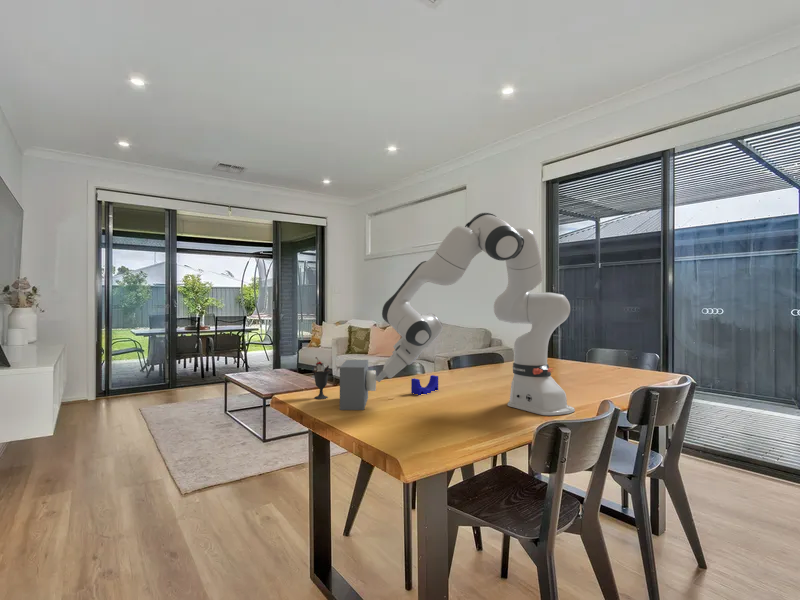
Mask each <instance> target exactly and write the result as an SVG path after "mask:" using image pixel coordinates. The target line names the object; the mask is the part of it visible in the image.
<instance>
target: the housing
mask: <svg viewBox="0 0 800 600" xmlns="http://www.w3.org/2000/svg"><path fill="white" fill-rule="evenodd" d="M367 370H369V359H346V360H345V361H344V362H343V363H342V364H341V365H340V366H339V411H364V410H365V408H366V405H367V402H368V399H369V391H367V390H366V374H367Z"/></svg>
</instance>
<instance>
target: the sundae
mask: <svg viewBox="0 0 800 600" xmlns="http://www.w3.org/2000/svg"><path fill="white" fill-rule="evenodd" d="M315 359H316V360H317V362H316V363H315V366H314V368H313V370H311V372H312V373H313V375H314V384H315V386H316V388H318V389H319V393H318V395H316V396H314V399H315V400H325V399H326V398H327V399H328V398H329V397H328V396H327V395H325V394H324V388H325V387H326V386H327V384H328V378H329V373H330V372H331V370H330V369H329V367H330V365H329V364H328V365H327V366H326V364H325V363H323V362H322V361H320V360H319V359H318V357H317V356H316V357H315ZM327 399H326V400H327Z"/></svg>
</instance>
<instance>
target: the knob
mask: <svg viewBox="0 0 800 600" xmlns="http://www.w3.org/2000/svg"><path fill="white" fill-rule="evenodd" d="M376 377H377V372H376V370H373V369H371V370H370V369H368V370H367V374H366V390H367V391H368V392H370V391H371V392H373V391H374V392H376V390H377V380H376Z"/></svg>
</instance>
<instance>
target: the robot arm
mask: <svg viewBox="0 0 800 600" xmlns="http://www.w3.org/2000/svg"><path fill="white" fill-rule="evenodd" d="M481 252H485V254H487V255H488V256H489V257H490V258H492V259H494V260H495V261H505V266H506V273H507V281H508V282H507V285H506V289H504V291H503V292H502V293H501V294H499V295H498V296H497V297H496V299H495V301H494V304H493V312H494V315H495V317H496V318H497V320H498V321H499V322H505V323H510V324H523V325H524V324H525V325H526V324H528V325H529V324H530V325H531V329H530V331H529V332H526V333H523V334H521V335H520V336H518V337H517V338H516V339H515V341H514V343H513V344H514V345H513V346H514V347H513V348H514V349H513V351H514V354H513V355H514V356H513V357H514V358H513V363H512V373H513V377H512V380H511V383H510V384H511V385H510V394H509V400H508V402H507V406H508V407H511V408H515V409H518V410H521V411H525V412H526V411H527V412H529V413H533V414H537V415H540V416H560V415H566V414H567V415H568V414H572V413H574V412H575V410H576V409H575V407H573V406H570V405H568V403H567V401H568V399H567V394H566V392H565V390H564V389H563V388H562V387H561V386H560V385H559V384H558V383H557V382H556V380H555V379H554V378H553V377H552V376H551V375H552V373H553V372H554V371H553V370H554V368H553V367H551V368H550V366H549V364H548V351H549V341H550V339H551V337H552V334H553V332H554V331H555V330H556V329H557V328H558V327H559V326H561V324H563V323H564V322H565V321H567V319H568V318H569V316H570V313H571V304H570V301H569V300H568V298H567V296H565V295H564V294H562V293H557V292H556V293H555V292H548V291H547V292H531V291H532V290H535V289H536V288H537V287H538V286H539V285H540V284H541V283H542V281H543V278H544V272H543V267H542V258H541V251H540V247H539V244H538V241H537V238H536V235H535V233H534V232H533V231H532V230H531V229H529V228H526V227H518V228H514V227H512V226H511V225H510V224H509V222H507V221H505V220H503V218H502V219H501V218H499V216H498V217H497V215H496V214H494V213H490V212H481V213H479V214H477V215H475V216H474V217H472V219H470V220H469V222H467V223H466V224H465V226H464V225H463V226H462V225H458V226H456V227H454V228H452V229H451V231H450V232H449V233H448V234H447V235H446V236H445V238H443V240H442V241H441V243H440V245H439V246H438V247H437V249H436V251H435V252H434V254H433V255H432V256H431V257H430V258H429V259H428V260H424V261H422V262H420V263H419V264H418V265H417V266H416V267H415V268H414V269H413V270H412V271H411V273H410V274H409V275H408V276H407V277H406V279H405V280H404V281H403V282H402V284H401V285H400V286H399V288H397V290H396V292H395V293H394V294H393V295H392V296H391V297H389V298H388V299H387V300H386V302H385V303H384V305H383V307H382V310H381V311H382V313H381V316H382V319H383V320H384V321H385V322H386V323H387V324H388V325H389V326H391V327H392V329H394V330H395V332H396V333H397V334H399V335H400V336H401V338H400V339H399V340H398V341H397V342H396V343H395V344H393V349H394V350H393V351H392V354H391V355H390V356H389V358H387V359H386V361H384V363H383V368H382V370H381V371H380V372H379V373H378V375H376V382H378V383H380V382H381V381H382V380H384V379H385V378H386V377H387V378H388V379H392V378H394V377H395V376H396V375H397V374H399V372H400V371H402V370H403V369H404V368H406V366H407V365H408V366H410V365H412V364H413V363H414V362H415V361H416V360H417V359H418V358H419V357H420V356H421V355H422V353H423V351H424V350H425V349H426V348H428V347H430V346H431V345H432V344H433V343H434V341H435V340H436V339H437V338H438V337H439V336H440V334H441V333H442V331H443V330H444V326H443V324H442V322H441V321H440V319H439V318H438V317H437V316H436V315H435V314H434V313H432V312H428V313H426V314H422V313H421V314H420V313H419V312H418V311H417V310H416V309H415V308H414V307H413V306H412V305H411V300H412V299H413V297H414V296H415V295H416V294H417V293H418V291H419V290H420V288H421V287H422V286H423V285H424V284H427V283H432V284H435V285H440V286H452V285H455V284H456V283H458V282H459V281H460V280H461V278H462V277H463V276H464V274H465V273H466V271H467V269H468V268H469V266H470V264H471V262H472V261H473V260H474V258H475V257H476V256H477V255H478V254H480V253H481Z"/></svg>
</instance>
